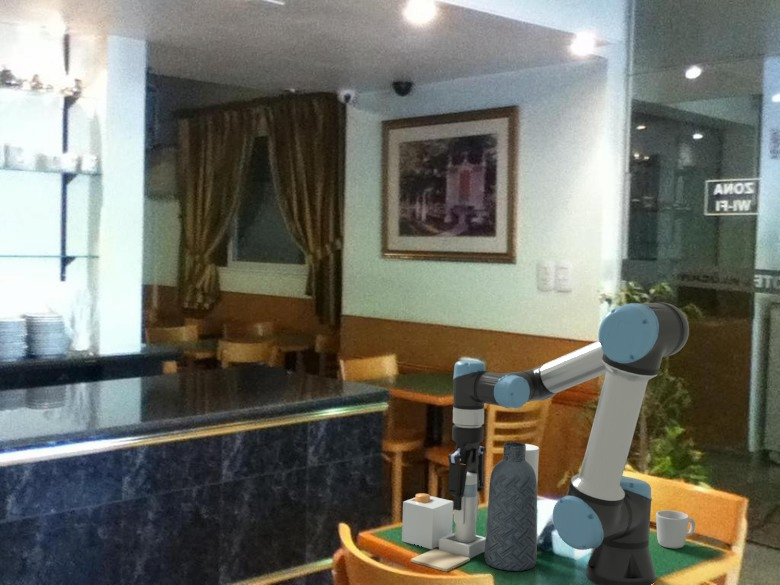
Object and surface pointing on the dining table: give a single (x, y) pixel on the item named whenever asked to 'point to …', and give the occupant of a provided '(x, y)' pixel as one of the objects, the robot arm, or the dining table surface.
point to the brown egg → (422, 498)
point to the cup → (673, 528)
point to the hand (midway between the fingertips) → (465, 519)
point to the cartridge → (468, 511)
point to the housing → (435, 527)
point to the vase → (512, 512)
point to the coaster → (440, 560)
